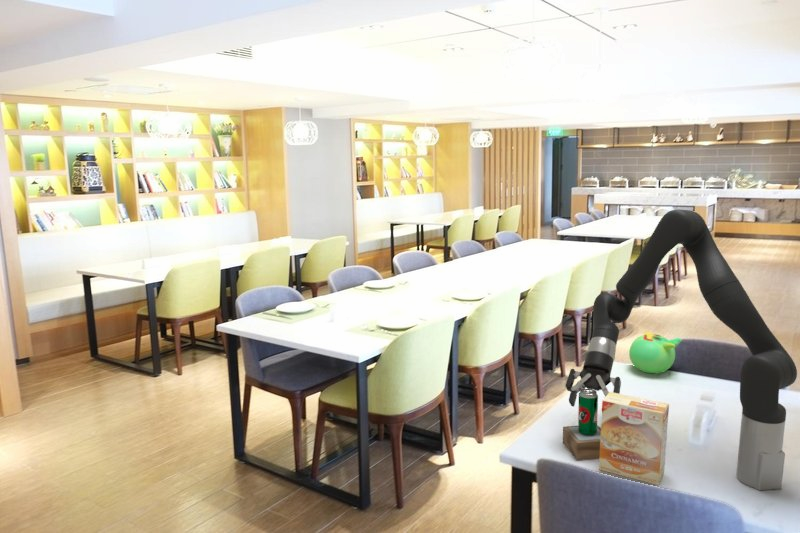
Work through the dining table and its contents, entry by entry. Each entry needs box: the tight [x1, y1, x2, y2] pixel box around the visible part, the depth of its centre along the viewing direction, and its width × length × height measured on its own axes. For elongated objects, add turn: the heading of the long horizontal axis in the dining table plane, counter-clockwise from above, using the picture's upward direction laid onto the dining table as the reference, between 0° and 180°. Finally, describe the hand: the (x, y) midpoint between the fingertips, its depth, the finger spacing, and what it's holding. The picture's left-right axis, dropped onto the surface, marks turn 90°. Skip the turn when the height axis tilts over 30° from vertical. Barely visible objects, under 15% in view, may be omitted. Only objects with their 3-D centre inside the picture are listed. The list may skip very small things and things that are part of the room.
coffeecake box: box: [598, 391, 670, 486], centre depth 156 cm, size 15×7×20 cm, turn 56°
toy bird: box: [628, 331, 683, 374], centre depth 227 cm, size 18×17×15 cm
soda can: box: [577, 388, 599, 435], centre depth 168 cm, size 5×5×12 cm
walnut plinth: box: [562, 424, 601, 461], centre depth 170 cm, size 10×10×5 cm
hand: (587, 408), depth 167 cm, fingers open, 8 cm apart
